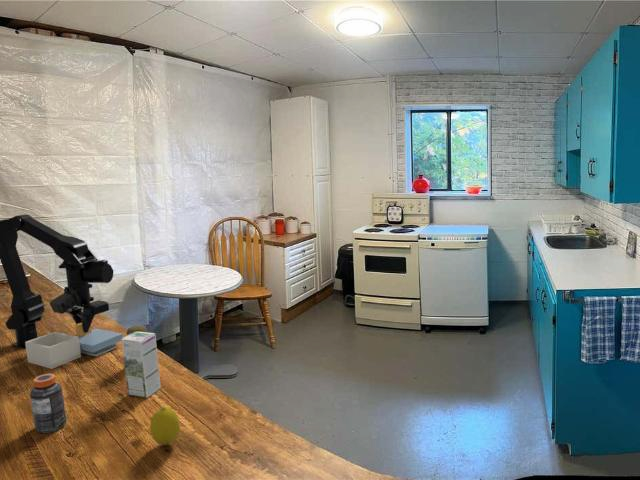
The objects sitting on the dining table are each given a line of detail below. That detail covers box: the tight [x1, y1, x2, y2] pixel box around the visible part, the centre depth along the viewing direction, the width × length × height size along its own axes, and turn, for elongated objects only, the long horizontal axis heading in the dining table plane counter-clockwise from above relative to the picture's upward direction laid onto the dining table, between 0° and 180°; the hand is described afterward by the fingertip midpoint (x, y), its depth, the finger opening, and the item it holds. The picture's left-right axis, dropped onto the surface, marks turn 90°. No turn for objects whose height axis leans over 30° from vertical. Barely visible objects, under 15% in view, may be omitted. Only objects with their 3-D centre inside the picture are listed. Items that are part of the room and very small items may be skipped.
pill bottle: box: [29, 373, 67, 434], centre depth 105 cm, size 6×6×11 cm
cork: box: [126, 324, 148, 336], centre depth 136 cm, size 6×6×11 cm
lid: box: [74, 323, 124, 352], centre depth 148 cm, size 12×10×6 cm
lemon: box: [149, 406, 181, 446], centre depth 97 cm, size 6×6×8 cm
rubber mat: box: [80, 344, 119, 357], centre depth 149 cm, size 11×8×1 cm
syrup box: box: [120, 331, 162, 399], centre depth 119 cm, size 6×6×14 cm
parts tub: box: [25, 331, 82, 370], centre depth 142 cm, size 11×9×6 cm
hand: (84, 332), depth 151 cm, fingers closed on lid
